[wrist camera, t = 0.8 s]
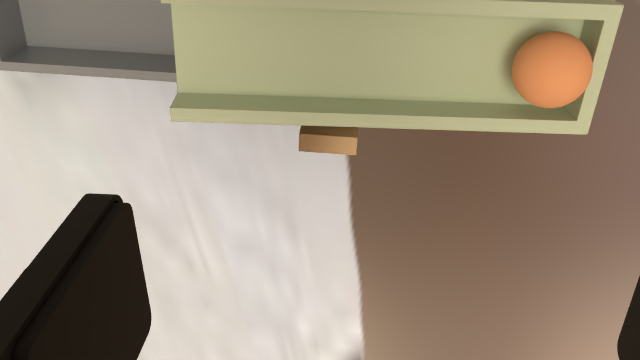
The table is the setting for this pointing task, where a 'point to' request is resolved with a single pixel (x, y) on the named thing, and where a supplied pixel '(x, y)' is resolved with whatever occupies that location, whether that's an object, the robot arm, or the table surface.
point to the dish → (88, 38)
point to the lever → (378, 62)
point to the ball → (552, 69)
